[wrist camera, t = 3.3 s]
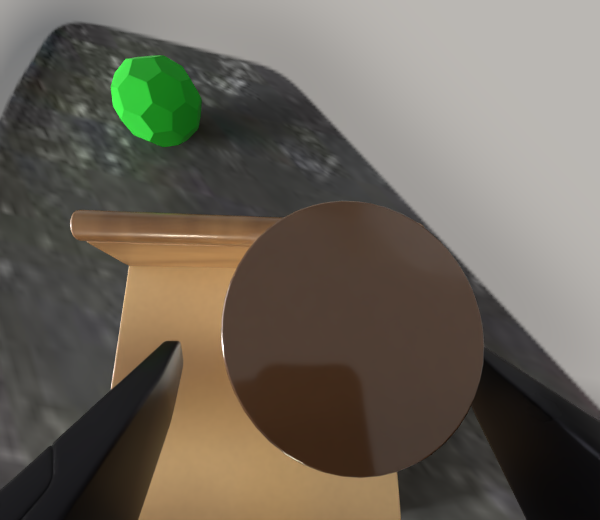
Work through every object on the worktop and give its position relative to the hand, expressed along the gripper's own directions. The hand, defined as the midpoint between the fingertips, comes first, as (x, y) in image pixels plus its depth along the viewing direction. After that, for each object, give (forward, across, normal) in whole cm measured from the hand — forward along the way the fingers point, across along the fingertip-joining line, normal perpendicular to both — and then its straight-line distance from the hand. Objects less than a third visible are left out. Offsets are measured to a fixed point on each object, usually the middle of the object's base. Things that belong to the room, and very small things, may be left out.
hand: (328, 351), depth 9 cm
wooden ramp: (+5, +2, +8) cm, 9 cm away
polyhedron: (+16, +9, -4) cm, 19 cm away
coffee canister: (+5, 0, +4) cm, 7 cm away
